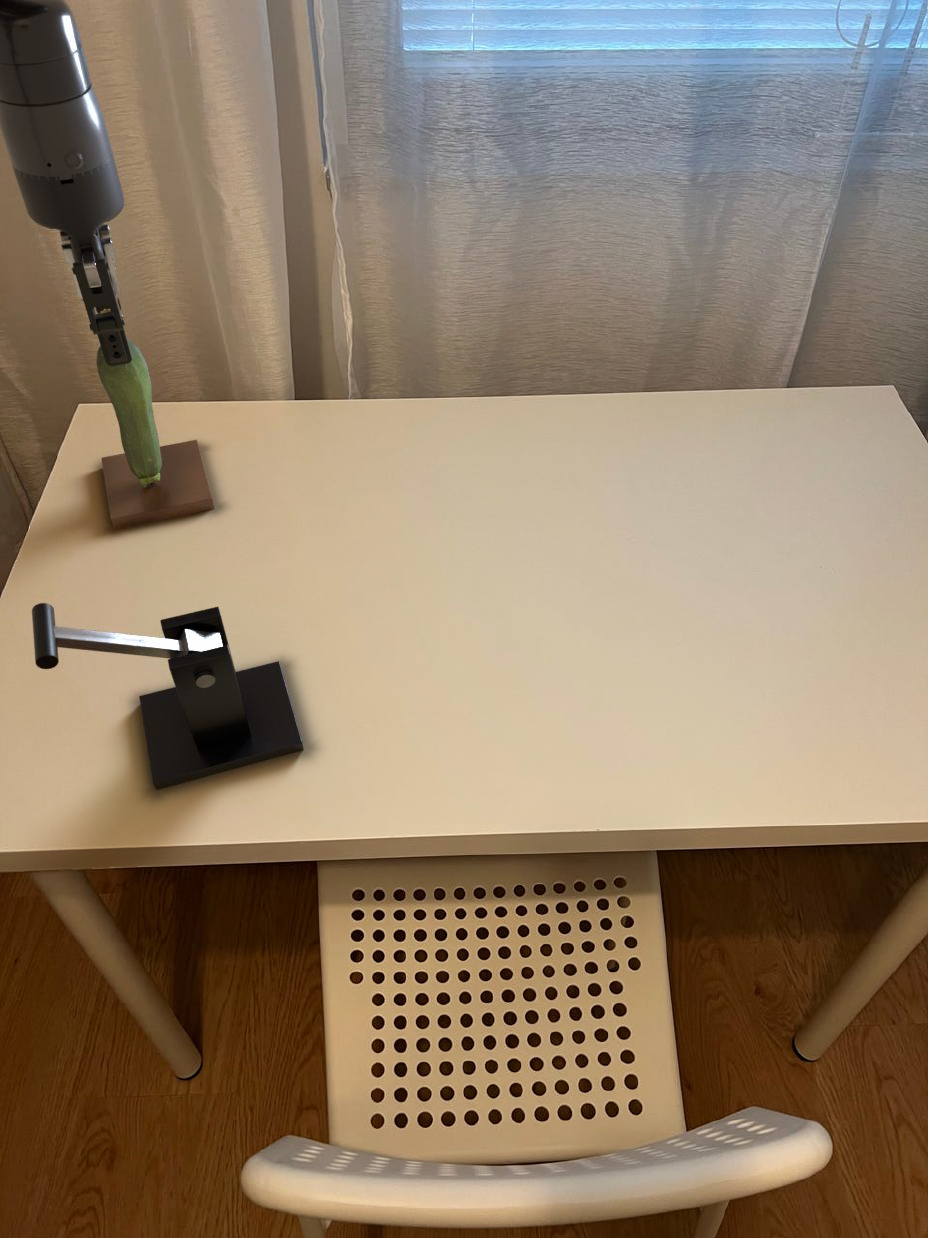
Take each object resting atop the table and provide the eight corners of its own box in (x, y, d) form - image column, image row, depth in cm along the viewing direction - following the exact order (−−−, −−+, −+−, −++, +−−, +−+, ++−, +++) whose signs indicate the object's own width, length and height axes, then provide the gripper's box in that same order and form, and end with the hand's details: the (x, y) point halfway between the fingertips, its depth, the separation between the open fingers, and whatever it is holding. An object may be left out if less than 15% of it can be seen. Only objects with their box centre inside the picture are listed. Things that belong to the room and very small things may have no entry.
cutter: (155, 791, 75) (118, 704, 66) (142, 703, 80) (105, 612, 71) (304, 750, 77) (287, 661, 68) (281, 669, 83) (262, 576, 74)
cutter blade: (31, 673, 63) (40, 649, 62) (27, 620, 67) (36, 596, 65) (217, 688, 71) (228, 667, 70) (206, 640, 74) (216, 619, 73)
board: (114, 530, 94) (110, 519, 93) (104, 468, 100) (101, 457, 99) (215, 509, 96) (212, 498, 95) (199, 450, 102) (196, 439, 101)
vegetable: (131, 469, 98) (76, 292, 83) (173, 462, 99) (126, 286, 84) (134, 496, 95) (78, 319, 80) (178, 489, 96) (130, 312, 81)
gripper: (6, 120, 76) (65, 303, 88) (12, 197, 67) (77, 389, 79) (102, 110, 78) (147, 290, 90) (120, 184, 69) (168, 373, 81)
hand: (114, 336), depth 85 cm, fingers open, 8 cm apart
